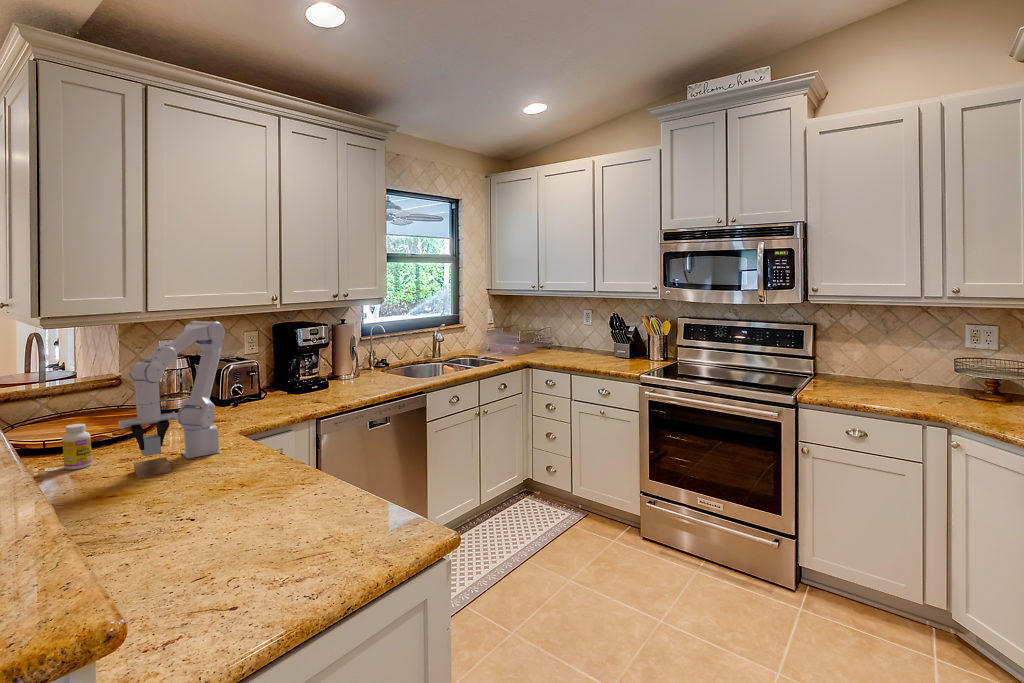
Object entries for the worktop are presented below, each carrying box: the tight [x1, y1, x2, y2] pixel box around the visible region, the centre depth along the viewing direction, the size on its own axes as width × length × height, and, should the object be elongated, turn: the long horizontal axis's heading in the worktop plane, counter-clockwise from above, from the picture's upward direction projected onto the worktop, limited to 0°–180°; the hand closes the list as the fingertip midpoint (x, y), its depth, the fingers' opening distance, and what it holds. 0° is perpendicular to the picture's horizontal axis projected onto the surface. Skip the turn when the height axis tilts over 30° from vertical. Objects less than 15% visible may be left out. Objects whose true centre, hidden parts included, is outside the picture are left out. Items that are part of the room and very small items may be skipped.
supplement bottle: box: [61, 423, 93, 471], centre depth 159 cm, size 7×7×13 cm
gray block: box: [140, 433, 162, 457], centre depth 155 cm, size 4×4×5 cm
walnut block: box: [133, 456, 172, 480], centre depth 156 cm, size 8×8×3 cm
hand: (151, 447), depth 155 cm, fingers closed on gray block, 4 cm apart
